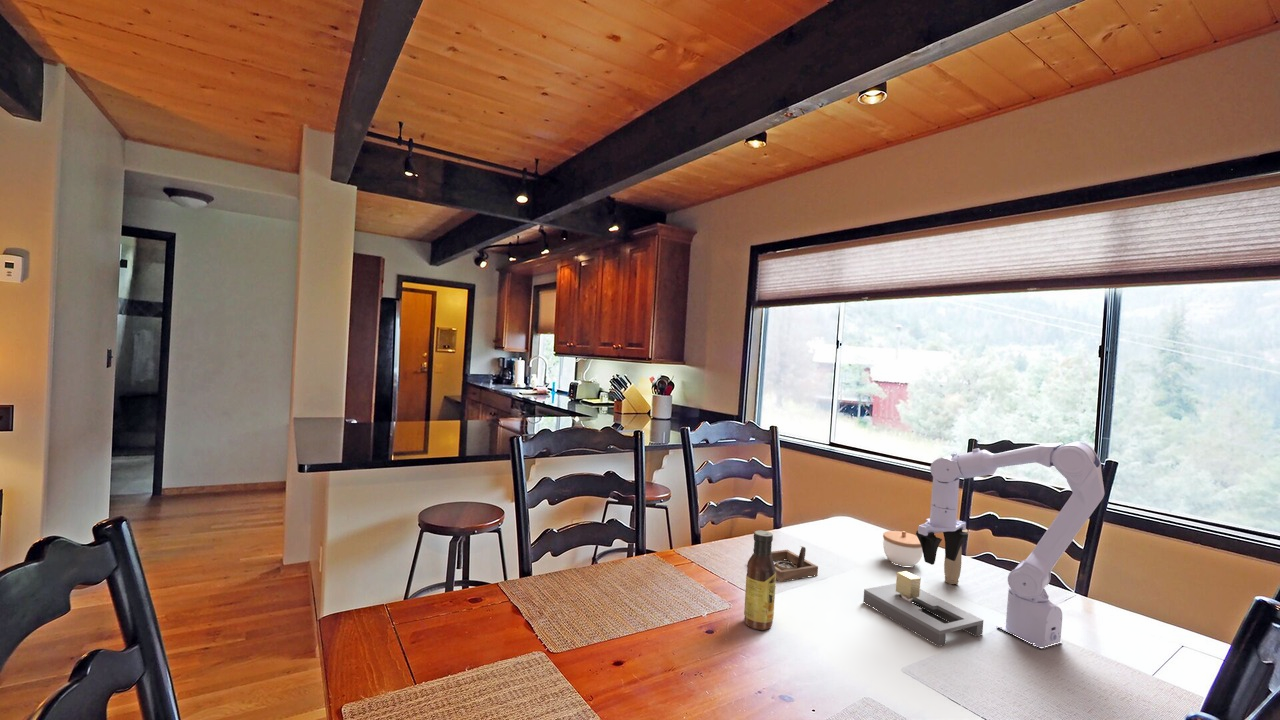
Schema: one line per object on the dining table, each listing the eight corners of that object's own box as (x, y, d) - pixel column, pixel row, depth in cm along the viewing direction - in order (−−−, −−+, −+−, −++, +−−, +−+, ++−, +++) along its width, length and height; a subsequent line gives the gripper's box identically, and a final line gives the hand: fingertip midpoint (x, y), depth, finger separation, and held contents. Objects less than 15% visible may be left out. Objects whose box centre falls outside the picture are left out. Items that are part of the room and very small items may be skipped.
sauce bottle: (773, 633, 116) (779, 540, 115) (743, 629, 117) (749, 536, 116) (772, 618, 122) (778, 530, 122) (743, 614, 123) (749, 527, 123)
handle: (951, 577, 151) (955, 523, 150) (968, 588, 144) (972, 531, 144) (935, 577, 150) (939, 523, 150) (951, 588, 144) (955, 531, 143)
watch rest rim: (817, 575, 147) (818, 566, 147) (780, 581, 142) (780, 572, 142) (786, 558, 158) (787, 549, 158) (751, 563, 153) (751, 554, 153)
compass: (776, 563, 154) (777, 537, 154) (805, 570, 151) (807, 543, 150) (769, 573, 147) (771, 546, 147) (800, 580, 143) (801, 553, 143)
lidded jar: (924, 562, 161) (926, 531, 161) (920, 574, 152) (923, 541, 151) (884, 553, 167) (886, 522, 166) (878, 564, 157) (881, 532, 157)
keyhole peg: (922, 614, 129) (925, 578, 128) (907, 617, 126) (910, 580, 126) (904, 604, 133) (907, 569, 133) (889, 607, 131) (892, 572, 131)
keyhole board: (982, 634, 120) (983, 620, 120) (938, 646, 114) (939, 630, 114) (904, 594, 138) (905, 581, 138) (863, 602, 133) (864, 589, 132)
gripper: (948, 499, 141) (944, 551, 141) (908, 503, 134) (904, 558, 135) (975, 507, 134) (971, 562, 135) (935, 512, 128) (930, 569, 128)
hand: (939, 561), depth 134 cm, fingers open, 7 cm apart
